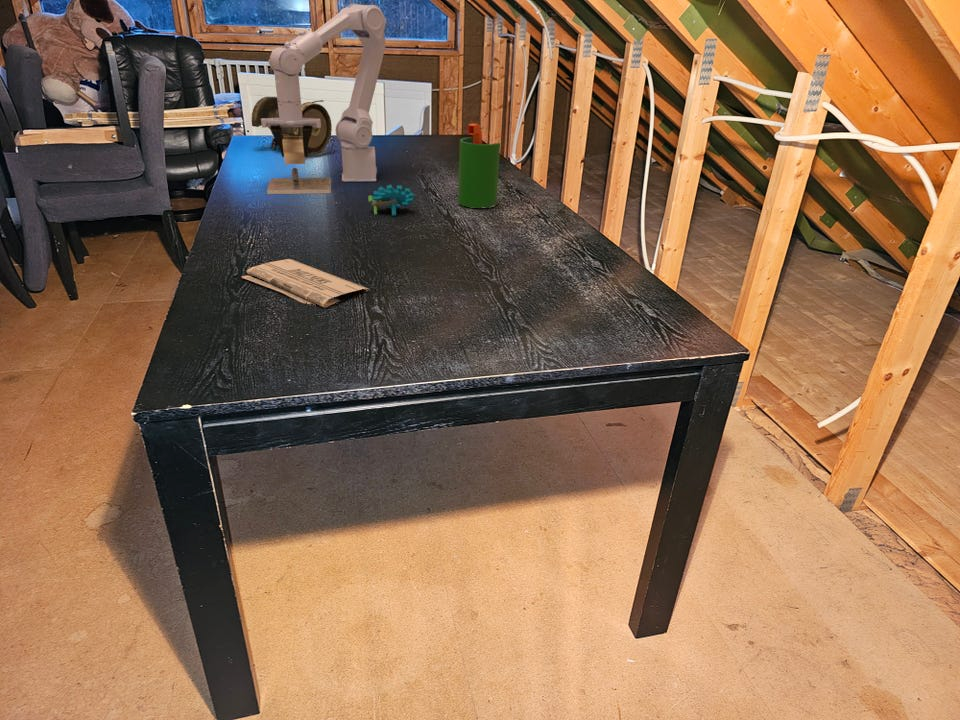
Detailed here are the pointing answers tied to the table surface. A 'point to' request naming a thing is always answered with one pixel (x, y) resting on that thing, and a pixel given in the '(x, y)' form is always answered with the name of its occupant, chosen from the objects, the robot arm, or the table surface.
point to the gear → (391, 198)
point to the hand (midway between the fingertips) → (294, 156)
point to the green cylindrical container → (478, 170)
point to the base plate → (299, 185)
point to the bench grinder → (318, 137)
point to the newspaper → (302, 282)
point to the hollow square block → (293, 149)
